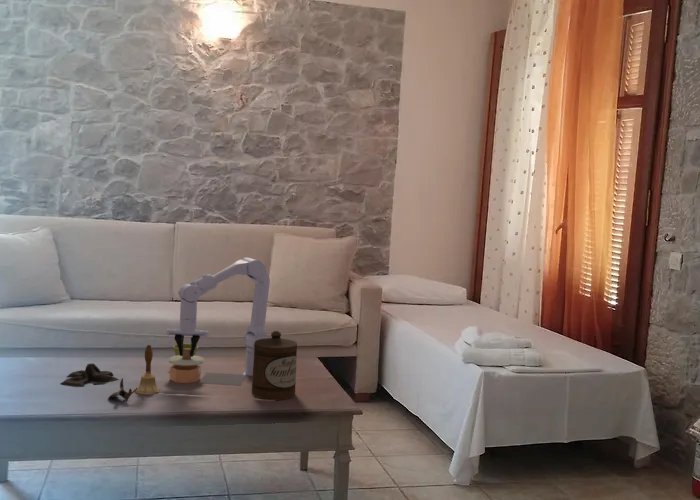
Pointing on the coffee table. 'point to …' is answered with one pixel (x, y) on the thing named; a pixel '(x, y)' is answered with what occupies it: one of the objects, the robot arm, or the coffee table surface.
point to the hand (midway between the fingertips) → (186, 355)
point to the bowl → (185, 373)
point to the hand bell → (147, 376)
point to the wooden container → (274, 368)
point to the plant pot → (183, 347)
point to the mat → (222, 379)
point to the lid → (186, 358)
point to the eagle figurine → (123, 392)
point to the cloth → (89, 377)
